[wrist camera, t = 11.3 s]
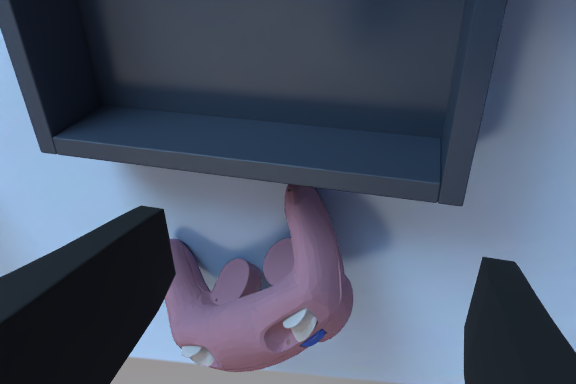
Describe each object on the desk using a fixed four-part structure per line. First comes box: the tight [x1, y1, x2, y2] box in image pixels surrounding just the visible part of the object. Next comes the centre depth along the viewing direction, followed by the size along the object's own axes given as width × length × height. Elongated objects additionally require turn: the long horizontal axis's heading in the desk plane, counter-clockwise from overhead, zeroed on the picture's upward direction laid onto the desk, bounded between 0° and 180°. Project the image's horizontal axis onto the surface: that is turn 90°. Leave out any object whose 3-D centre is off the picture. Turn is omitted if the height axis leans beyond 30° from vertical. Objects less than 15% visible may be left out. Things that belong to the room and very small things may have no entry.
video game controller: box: [164, 184, 353, 372], centre depth 22 cm, size 10×5×7 cm, turn 126°
